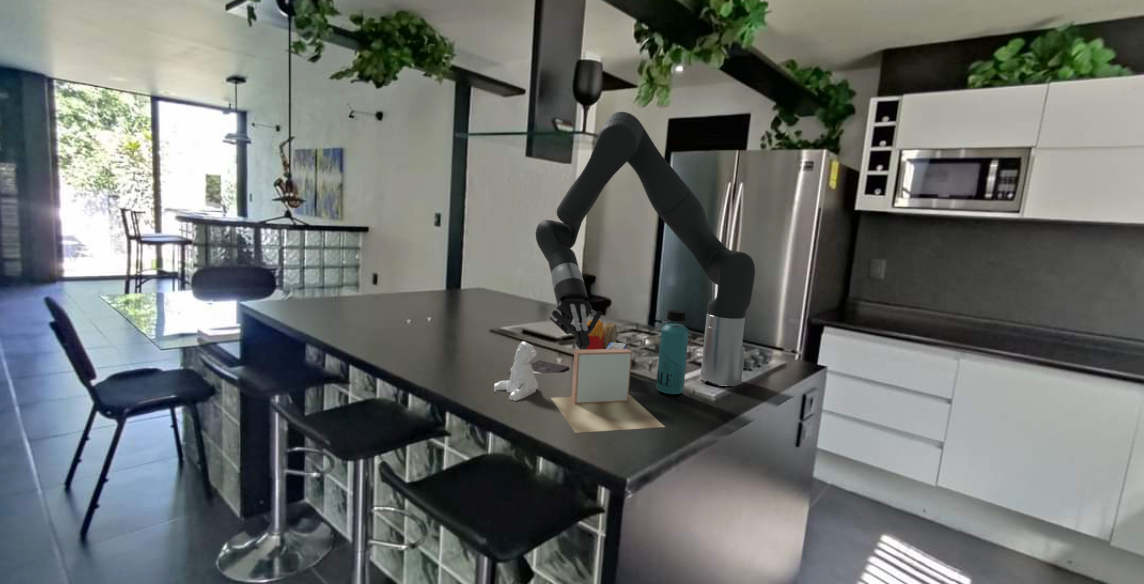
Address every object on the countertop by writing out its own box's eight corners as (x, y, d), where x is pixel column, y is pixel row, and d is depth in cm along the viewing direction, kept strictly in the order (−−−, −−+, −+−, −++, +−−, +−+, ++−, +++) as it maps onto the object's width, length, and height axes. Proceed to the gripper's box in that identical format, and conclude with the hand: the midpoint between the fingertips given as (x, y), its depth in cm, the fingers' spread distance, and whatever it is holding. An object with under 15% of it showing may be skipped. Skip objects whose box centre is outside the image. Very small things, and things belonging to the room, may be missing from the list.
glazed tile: (623, 397, 116) (627, 348, 114) (628, 401, 114) (632, 352, 112) (571, 399, 113) (574, 349, 111) (574, 404, 110) (578, 353, 108)
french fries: (594, 370, 138) (597, 325, 136) (580, 367, 139) (583, 323, 137) (604, 362, 145) (607, 319, 144) (590, 359, 147) (593, 317, 145)
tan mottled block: (604, 352, 155) (606, 319, 153) (616, 354, 154) (619, 321, 152) (594, 361, 145) (597, 326, 144) (607, 363, 144) (610, 327, 143)
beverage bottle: (685, 393, 123) (693, 309, 120) (681, 402, 117) (689, 314, 114) (657, 389, 126) (664, 306, 122) (652, 397, 119) (659, 310, 116)
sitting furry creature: (490, 391, 117) (493, 338, 116) (524, 385, 123) (526, 334, 121) (512, 405, 110) (514, 349, 108) (546, 398, 115) (549, 344, 113)
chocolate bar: (569, 366, 137) (532, 385, 122) (568, 370, 137) (531, 389, 122) (539, 360, 141) (499, 377, 126) (539, 363, 142) (499, 381, 126)
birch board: (628, 397, 118) (628, 394, 118) (664, 430, 101) (665, 426, 101) (550, 401, 113) (550, 397, 113) (575, 436, 96) (575, 432, 96)
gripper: (588, 295, 133) (605, 355, 124) (538, 294, 128) (551, 357, 119) (599, 277, 128) (617, 339, 118) (547, 275, 123) (561, 339, 113)
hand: (584, 348), depth 119 cm, fingers closed
